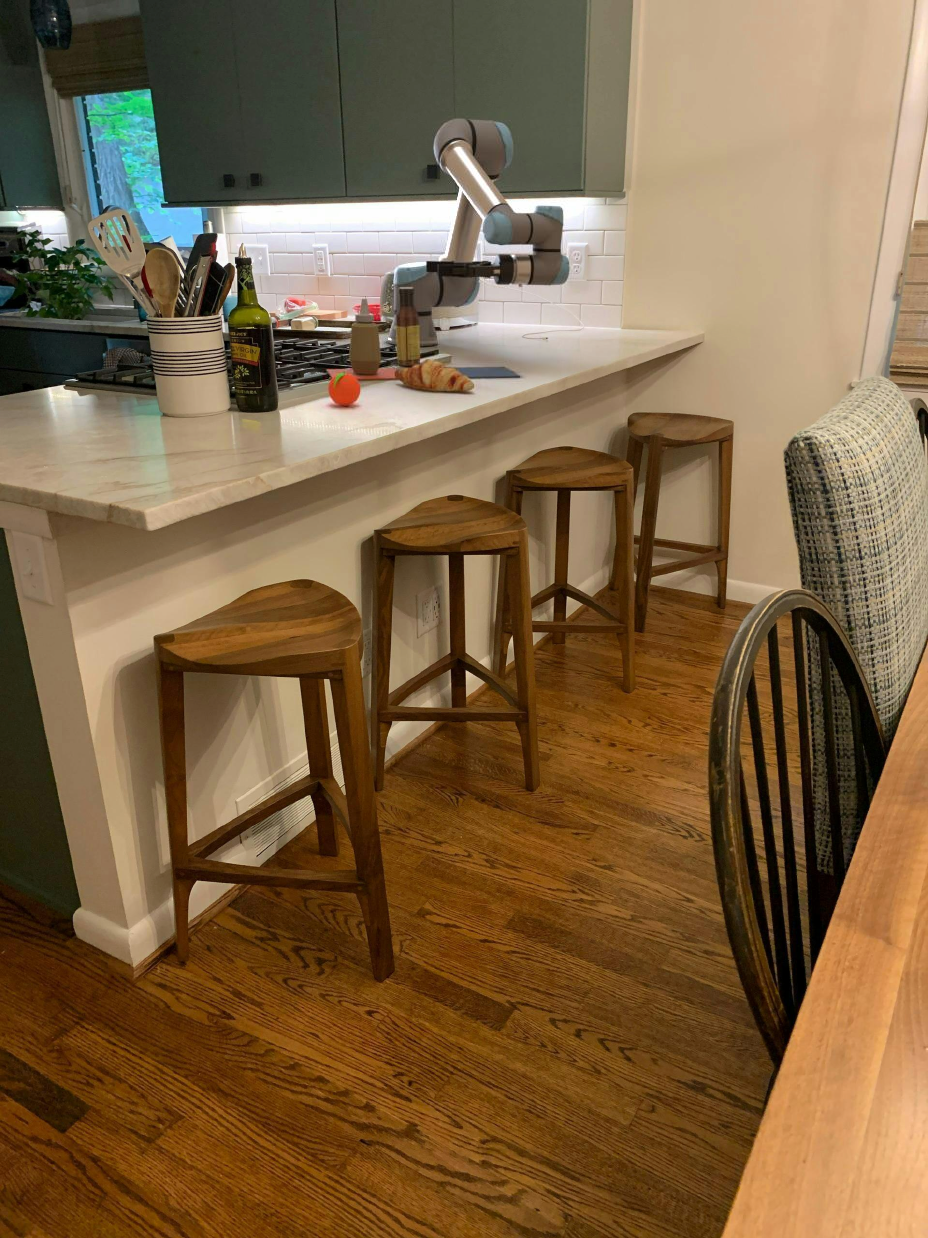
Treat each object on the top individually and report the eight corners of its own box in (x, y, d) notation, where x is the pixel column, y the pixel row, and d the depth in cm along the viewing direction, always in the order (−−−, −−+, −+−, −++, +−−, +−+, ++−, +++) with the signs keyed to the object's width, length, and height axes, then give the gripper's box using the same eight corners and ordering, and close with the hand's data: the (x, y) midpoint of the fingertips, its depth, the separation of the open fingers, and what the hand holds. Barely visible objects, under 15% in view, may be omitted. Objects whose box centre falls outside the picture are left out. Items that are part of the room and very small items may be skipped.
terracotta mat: (326, 370, 240) (326, 369, 240) (394, 369, 245) (394, 368, 245) (333, 380, 228) (333, 378, 228) (405, 379, 233) (405, 377, 232)
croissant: (477, 405, 222) (485, 373, 222) (463, 391, 213) (471, 357, 213) (399, 394, 230) (407, 362, 230) (382, 380, 220) (390, 347, 220)
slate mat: (439, 369, 248) (439, 367, 248) (503, 368, 252) (503, 366, 252) (452, 378, 236) (452, 376, 235) (519, 377, 240) (519, 375, 240)
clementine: (349, 410, 197) (349, 376, 194) (320, 407, 199) (319, 373, 196) (366, 404, 204) (365, 370, 201) (337, 400, 206) (336, 368, 203)
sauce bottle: (421, 363, 255) (422, 286, 247) (418, 367, 249) (418, 288, 241) (397, 362, 255) (397, 285, 247) (394, 366, 250) (393, 287, 241)
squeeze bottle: (343, 374, 234) (341, 298, 227) (358, 369, 241) (357, 296, 234) (372, 377, 232) (371, 301, 224) (386, 372, 238) (386, 298, 231)
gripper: (524, 289, 235) (443, 288, 230) (496, 280, 257) (421, 279, 252) (526, 257, 232) (443, 255, 227) (498, 251, 254) (422, 249, 249)
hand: (431, 268), depth 240 cm, fingers open, 13 cm apart
